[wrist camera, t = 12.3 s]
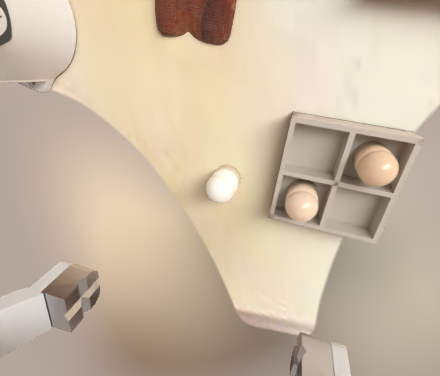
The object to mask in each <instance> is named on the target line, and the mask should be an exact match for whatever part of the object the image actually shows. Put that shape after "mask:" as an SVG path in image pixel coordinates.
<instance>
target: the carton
mask: <svg viewBox="0 0 440 376" xmlns="http://www.w3.org/2000/svg"><path fill="white" fill-rule="evenodd" d="M367 141H377V142H380V143H382V144H383V145H385V146H386V148H387V149H388V150H389V151H390V152H391V153H392V154H393V155H394V156H395V158H396V159H397V161H398V164H399V171H398V174H397V176H396V178H395V179H394V180H393V181H392V182H390V183H389V184H387V185H384V186H380V187H374V186H370V185H367V184H365V183H364V182H363V181H362V180H361V179H360V178H359V176H358V174H357V172H356V169H355V167H354V165H353V162H352V154H353V152H354V150H355V149H356V148H357V147H358V146H359V145H360V144H362V143H364V142H367ZM423 141H424V139H423V138H422V137H420V136H419V135H417V134H416V133H414V132H412V131H406V130H400V129H394V128H388V127H382V126H376V125H370V124H365V123H359V122H353V121H347V120H341V119H335V118H329V117H323V116H317V115H311V114H305V113H299V112H293V114H292V118H291V122H290V126H289V131H288V135H287V139H286V144H285V148H284V152H283V157H282V161H281V166H280V170H279V174H278V179H277V183H276V187H275V192H274V196H273V200H272V205H271V209H270V213H269V218H272V219H276V220H280V221H284V222H288V223H292V224H296V225H300V226H304V227H308V228H312V229H316V230H320V231H324V232H328V233H332V234H336V235H340V236H344V237H349V238H353V239H357V240H361V241H365V242H369V243H373V244H376V243H377V241H378V239H379V237H380V235H381V233H382V230H383V228H384V226H385V224H386V222H387V219H388V217H389V215H390V213H391V211H392V209H393V206H394V204H395V202H396V200H397V198H398V196H399V193H400V191H401V189H402V187H403V185H404V183H405V180H406V178H407V176H408V174H409V171H410V169H411V167H412V165H413V163H414V161H415V159H416V156H417V154H418V152H419V150H420V148H421V146H422V143H423ZM297 179H305V180H310V181H312V182H313V183H314V184H315V185H316V187H317V191H318V211H317V214H316V215H315V216H314V217H313V218H312V219H311V220H309V221H306V222H298V221H295V220H293V219H292V218H290V217H289V215H288V214H287V212H286V210H285V201H286V195H287V189H288V186H289V185H290V183H291V182H293V181H294V180H297Z"/></svg>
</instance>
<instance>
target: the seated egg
mask: <svg viewBox="0 0 440 376" xmlns="http://www.w3.org/2000/svg"><path fill="white" fill-rule="evenodd" d="M285 210H286V212H287V214H288V215H289V217H290V218H292V219H293V220H295V221H298V222H306V221H309V220H311V219H312V218H313V217H314V216H315V215H316V214H317V211H318V191H317V187H316V185H315V184H314V183H313V182H312V181H310V180H305V179H297V180H294V181H293V182H291V183H290V185H289V186H288V189H287V195H286V201H285Z"/></svg>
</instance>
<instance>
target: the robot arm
mask: <svg viewBox="0 0 440 376" xmlns="http://www.w3.org/2000/svg"><path fill="white" fill-rule="evenodd" d="M75 45H76V27H75V21H74V16H73V13H72V9H71V6H70V4H69V1H68V0H0V83H11V82H12V83H13V82H17V83H19V84H21V85H24V86H26V87H29V88H31V89H34V90H36V91H38V92H48V91H49V90H50V89H51V87H52V84H53V82H54V79H55V78H56V77H57V76H58V75H59V74H61V73H62V72H63V71H64V70H65V69H66V68H67V67H68V65H69V64H70V62H71V60H72V58H73V55H74V51H75ZM97 279H98V272H97V271H94V270H91V269H88V268H85V267H82V266H80V265H77V264H73V263H70V262H67V261H61V262H59V263H58V264H56V265H55V266H54V267H53V268H52V269H51V270H49V271H48V272H47V273H46V274H45V275H43V276H42V277H41V278H40V279H39V280H38V281H36V282H35V283H34V284H33V285H32V286H31V287H29V288H22V289H20V290H17V291H14V292H12V293H9V294H7V295H4V296H1V297H0V358H1V357H2V356H4V355H6V354H8V353H9V352H11V351H13V350H14V349H16V348H18V347H20V346H21V345H23V344H25V343H27V342H28V341H30V340H32V339H33V338H35V337H37V336H38V335H40V334H42V333H44V332H45V331H47V330H49V329H51V328H52V327H55V328H58V329H61V330H65V331H68V332H72V331H73V330H74V329H75V328H76V326H77V325H78V324H79V323H80V322H81V320H82V319H83V315H84V312H85V311H88V310H90V309H91V308H92V307H93V306H94V304H95V303H96V301H97V299H98V297H99V294H100V286H99V284H98V283H97V281H96V280H97ZM290 376H351V374H350V368H349V361H348V355H347V349H346V347H345V346H344V345H341V344H338V343H335V342H331V341H328V340H326V339H322V338H318V337H315V336H312V335H308V334H305V333H301V332H300V334H299V336H298V338H297V346H295V347H294V349H293V352H292V356H291V362H290Z"/></svg>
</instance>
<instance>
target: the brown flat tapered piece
mask: <svg viewBox="0 0 440 376" xmlns="http://www.w3.org/2000/svg"><path fill="white" fill-rule="evenodd" d="M235 7H236V0H155V12H156V21H157V27H158V30H159V31H160V33H161V34H162V35H163V36H181V35H184V34H185V33H186V32H190V34H192V35H193V36H194V37H195V38H196V39H198V40H201V41H203V42H207V43H212V44H223V43H225V42H226V41H227V40H228V39H229V37H230V33H231V28H232V23H233V18H234V13H235Z"/></svg>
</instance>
